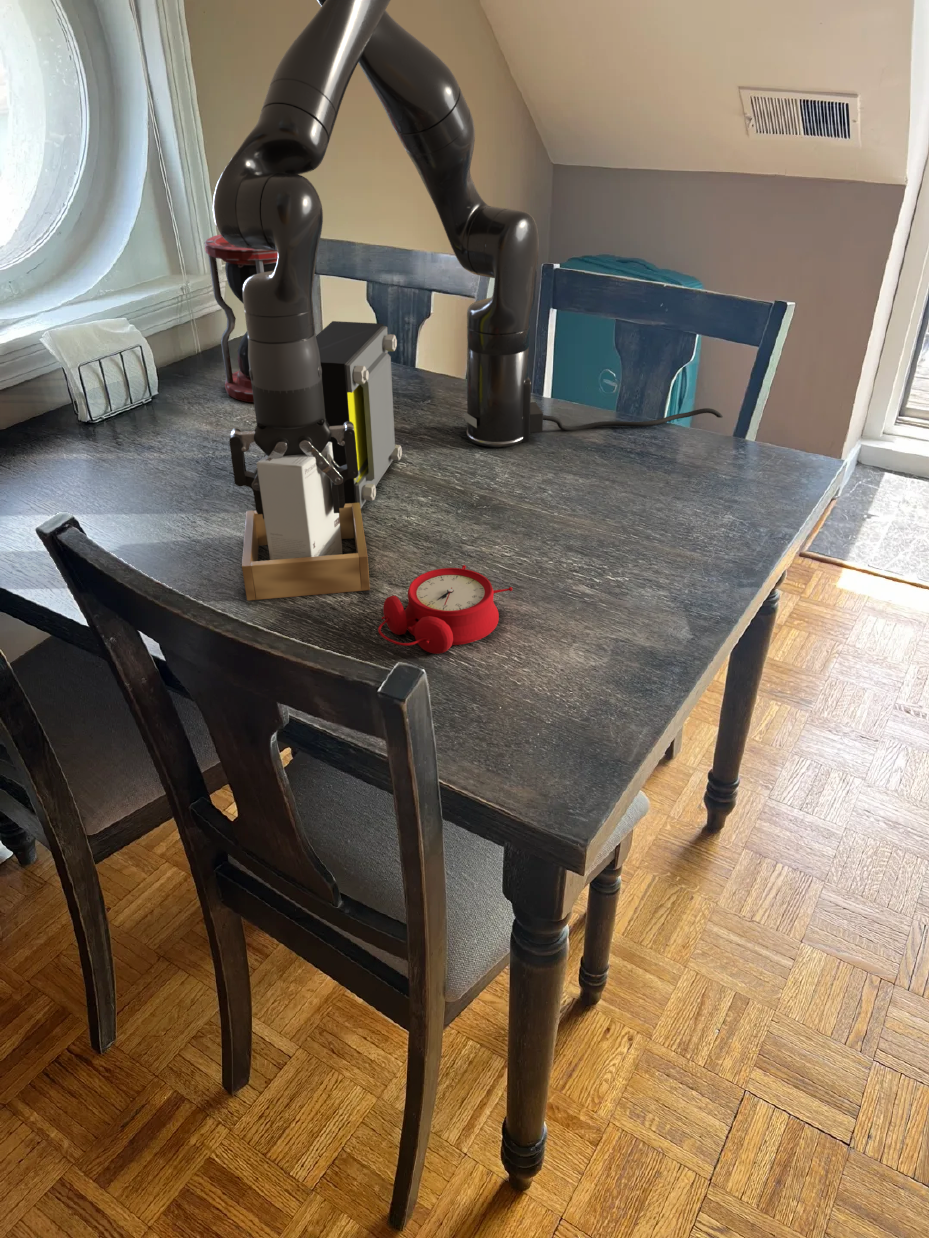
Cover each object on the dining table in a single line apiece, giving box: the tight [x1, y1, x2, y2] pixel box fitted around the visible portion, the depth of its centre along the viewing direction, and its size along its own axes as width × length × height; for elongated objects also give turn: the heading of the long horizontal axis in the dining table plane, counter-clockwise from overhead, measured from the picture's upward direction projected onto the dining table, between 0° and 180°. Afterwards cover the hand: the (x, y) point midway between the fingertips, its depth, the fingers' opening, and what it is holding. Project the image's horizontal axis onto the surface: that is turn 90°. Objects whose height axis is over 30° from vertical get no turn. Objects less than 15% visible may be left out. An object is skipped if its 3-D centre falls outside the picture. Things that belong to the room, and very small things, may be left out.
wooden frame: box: [241, 503, 371, 602], centre depth 113 cm, size 14×14×4 cm
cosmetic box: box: [256, 442, 344, 560], centre depth 110 cm, size 8×6×15 cm
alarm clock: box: [377, 564, 513, 655], centre depth 101 cm, size 10×6×15 cm
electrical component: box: [316, 320, 403, 509], centre depth 128 cm, size 18×10×20 cm, turn 168°
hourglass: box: [203, 233, 278, 403], centre depth 160 cm, size 16×16×25 cm
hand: (301, 513), depth 110 cm, fingers closed on cosmetic box, 7 cm apart
